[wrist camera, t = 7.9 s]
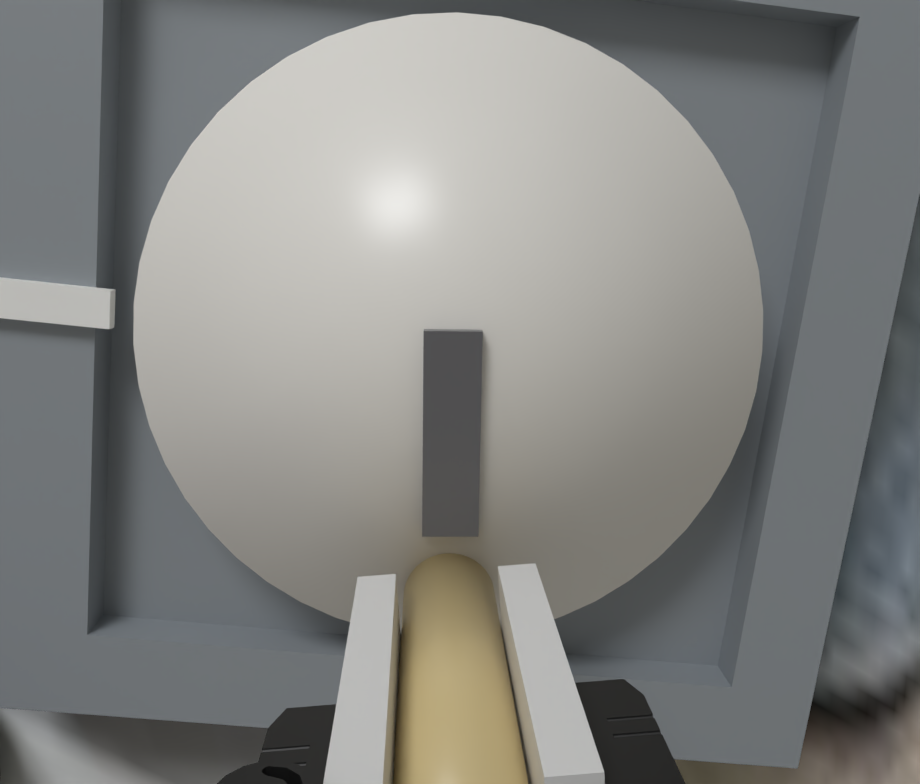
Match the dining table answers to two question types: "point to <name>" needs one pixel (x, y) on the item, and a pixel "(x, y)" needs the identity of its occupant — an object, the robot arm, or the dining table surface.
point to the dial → (448, 341)
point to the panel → (325, 637)
